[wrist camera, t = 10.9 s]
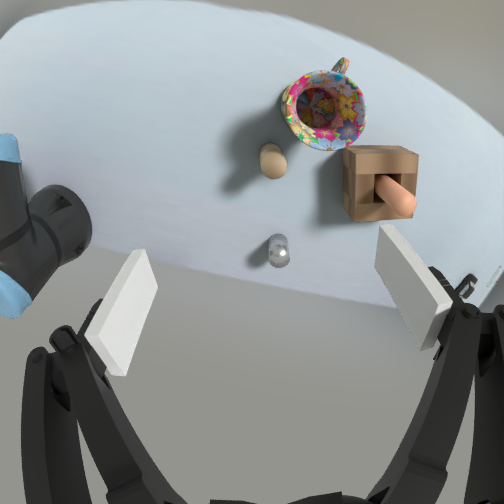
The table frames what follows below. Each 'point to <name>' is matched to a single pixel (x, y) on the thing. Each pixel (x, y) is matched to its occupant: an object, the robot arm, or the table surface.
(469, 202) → the table surface
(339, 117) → the mug
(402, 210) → the long pin
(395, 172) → the block
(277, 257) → the short pin
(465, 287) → the toy car
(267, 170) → the medium pin
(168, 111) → the table surface
